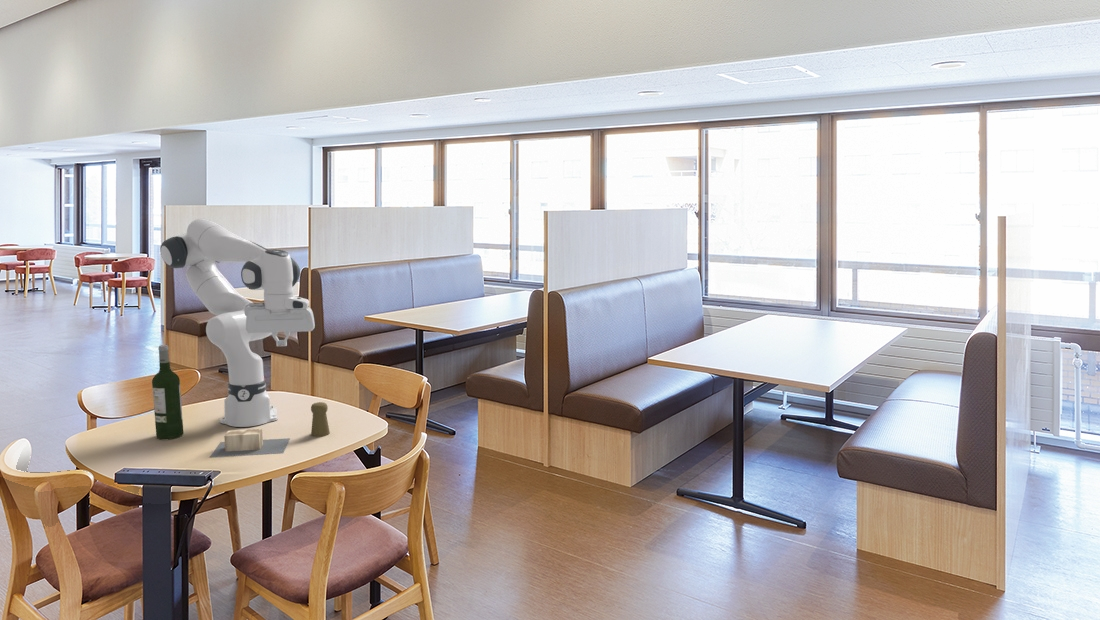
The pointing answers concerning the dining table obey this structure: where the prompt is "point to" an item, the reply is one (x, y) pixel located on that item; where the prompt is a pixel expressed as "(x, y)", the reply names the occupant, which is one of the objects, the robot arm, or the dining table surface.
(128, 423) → the dining table surface
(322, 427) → the cork
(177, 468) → the dining table surface
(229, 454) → the rubber mat
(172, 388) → the wine bottle
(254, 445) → the pine block
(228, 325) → the robot arm
